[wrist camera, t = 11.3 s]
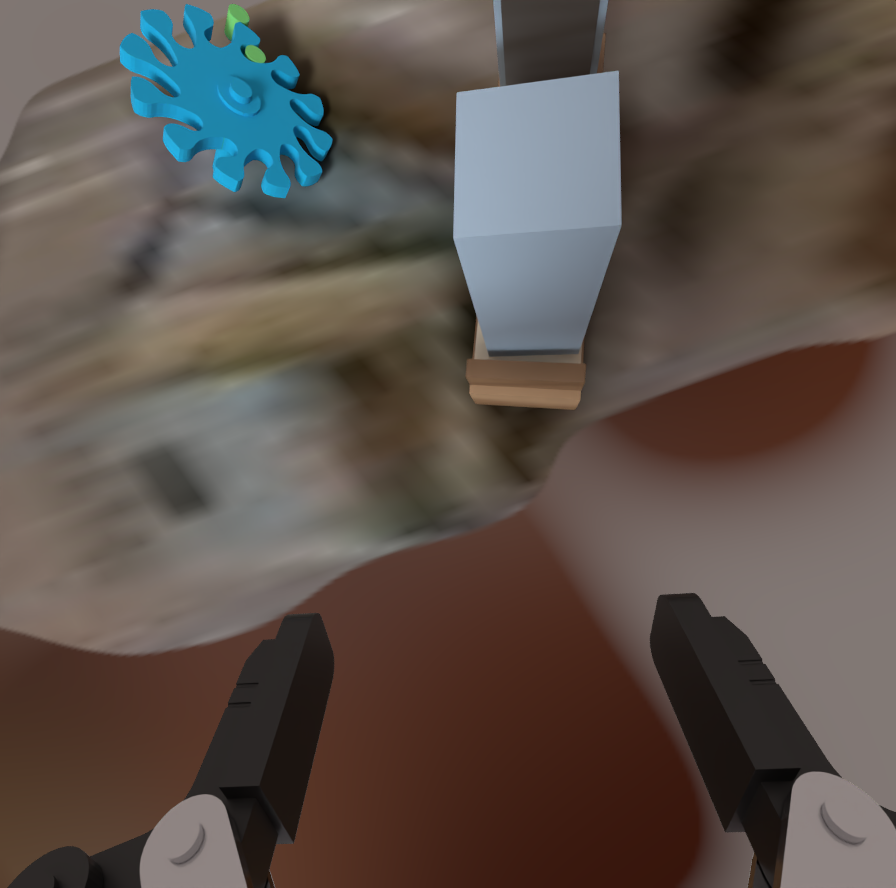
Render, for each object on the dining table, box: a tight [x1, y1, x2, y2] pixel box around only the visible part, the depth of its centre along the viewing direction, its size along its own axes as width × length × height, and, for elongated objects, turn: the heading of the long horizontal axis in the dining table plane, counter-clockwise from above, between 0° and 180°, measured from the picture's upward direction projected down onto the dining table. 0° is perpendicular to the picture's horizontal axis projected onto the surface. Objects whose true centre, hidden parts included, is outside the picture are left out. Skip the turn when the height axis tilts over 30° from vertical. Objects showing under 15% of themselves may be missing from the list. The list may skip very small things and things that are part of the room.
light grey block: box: [453, 71, 622, 357], centre depth 16 cm, size 4×4×10 cm
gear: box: [120, 4, 333, 198], centre depth 26 cm, size 11×6×10 cm
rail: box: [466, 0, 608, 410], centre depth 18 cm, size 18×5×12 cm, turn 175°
